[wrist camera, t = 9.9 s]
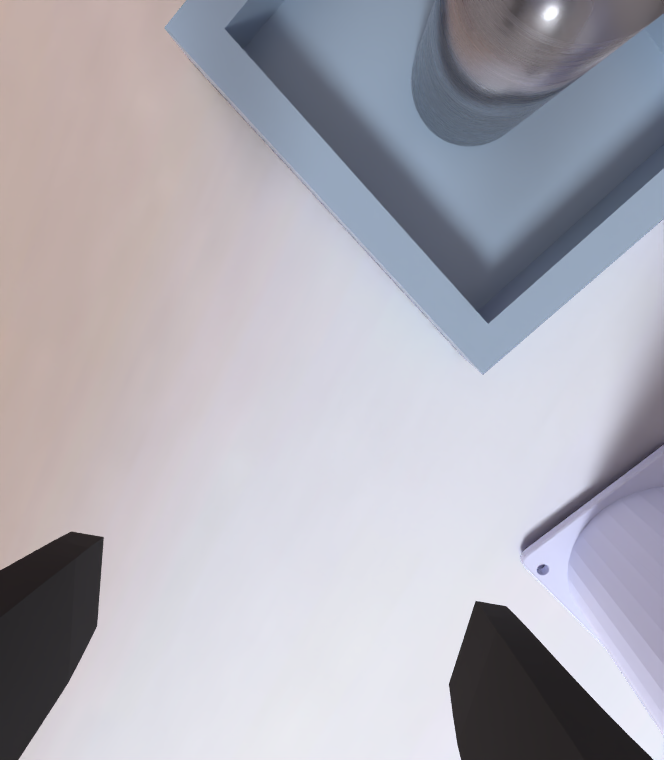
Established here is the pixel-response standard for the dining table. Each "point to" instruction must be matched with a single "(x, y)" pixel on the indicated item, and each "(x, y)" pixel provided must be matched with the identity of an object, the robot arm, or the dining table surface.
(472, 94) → the pin
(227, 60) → the tray
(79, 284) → the dining table surface
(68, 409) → the dining table surface
